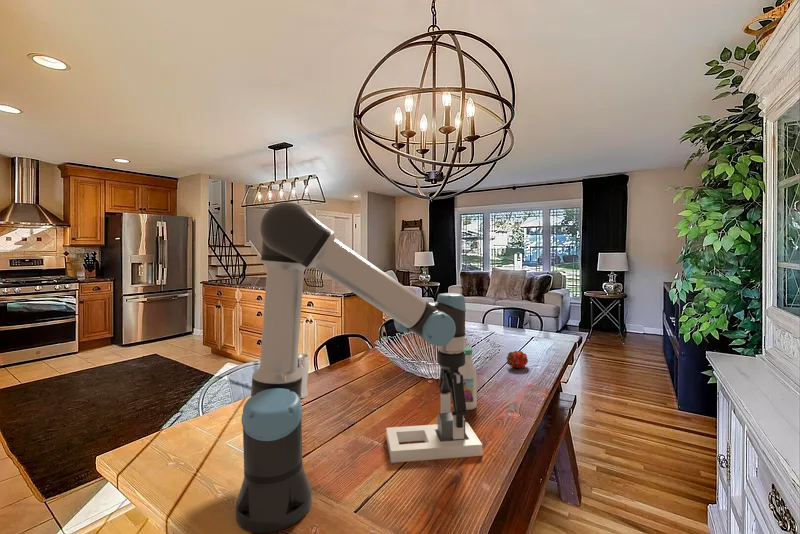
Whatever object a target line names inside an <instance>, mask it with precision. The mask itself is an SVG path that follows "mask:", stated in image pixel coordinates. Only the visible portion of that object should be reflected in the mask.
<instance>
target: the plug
mask: <svg viewBox="0 0 800 534" xmlns="http://www.w3.org/2000/svg"><path fill="white" fill-rule="evenodd" d="M465 422H466V419H465V418H464V439H453V415H452V412H450V413H441V412H439V413H437V424H438V438H439V440H440V442H442V441H455V440H465Z"/></svg>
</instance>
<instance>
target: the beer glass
mask: <svg viewBox="0 0 800 534" xmlns="http://www.w3.org/2000/svg"><path fill="white" fill-rule="evenodd" d="M309 364H310V363H309V356H308V354H307V353H298V357H297V368H298V370H299V371H300V372H301V373H302V388H301V398H302V399H305V398H307V397H309V392H308V387H307V386H308V379H309V378H308V377H309V368H310V366H309Z"/></svg>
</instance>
